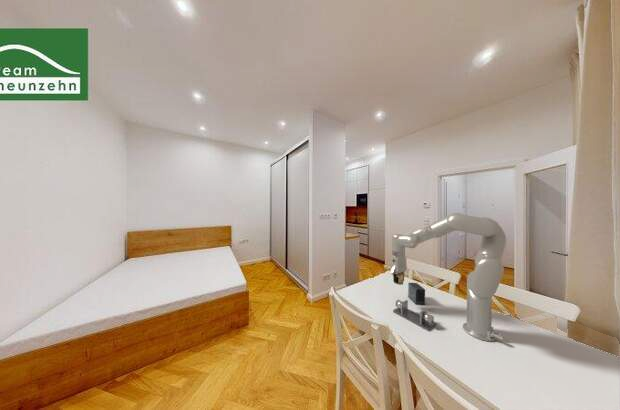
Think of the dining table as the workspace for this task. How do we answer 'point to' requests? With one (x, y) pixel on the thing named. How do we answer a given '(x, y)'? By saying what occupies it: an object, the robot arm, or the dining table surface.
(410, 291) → the small box
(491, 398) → the dining table surface
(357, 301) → the dining table surface
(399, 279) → the valve
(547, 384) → the dining table surface
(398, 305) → the grey bar with knobs
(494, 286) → the robot arm
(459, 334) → the dining table surface
